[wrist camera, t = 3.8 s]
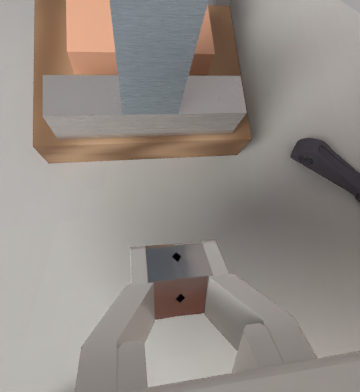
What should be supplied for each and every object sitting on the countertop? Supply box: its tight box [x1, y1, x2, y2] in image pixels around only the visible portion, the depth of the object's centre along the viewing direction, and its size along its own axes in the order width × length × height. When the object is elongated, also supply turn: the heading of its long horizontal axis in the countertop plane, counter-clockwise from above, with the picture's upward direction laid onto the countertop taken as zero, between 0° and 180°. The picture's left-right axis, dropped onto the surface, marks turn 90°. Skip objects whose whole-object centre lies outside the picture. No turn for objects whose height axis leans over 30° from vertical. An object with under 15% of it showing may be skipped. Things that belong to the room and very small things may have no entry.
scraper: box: [43, 0, 247, 140], centre depth 12 cm, size 11×2×13 cm, turn 96°
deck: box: [33, 0, 252, 163], centre depth 20 cm, size 14×11×3 cm
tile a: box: [66, 0, 118, 74], centre depth 18 cm, size 4×4×2 cm
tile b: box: [189, 4, 215, 74], centre depth 19 cm, size 4×4×2 cm
